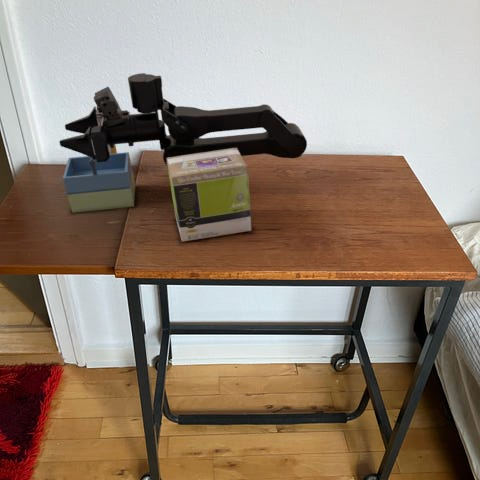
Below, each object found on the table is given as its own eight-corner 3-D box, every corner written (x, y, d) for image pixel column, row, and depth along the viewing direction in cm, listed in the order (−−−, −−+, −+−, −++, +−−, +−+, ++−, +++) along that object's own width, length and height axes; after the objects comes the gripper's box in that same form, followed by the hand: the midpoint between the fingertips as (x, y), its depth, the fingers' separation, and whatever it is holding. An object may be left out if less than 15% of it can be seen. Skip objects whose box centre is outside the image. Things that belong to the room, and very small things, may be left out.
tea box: (241, 210, 119) (238, 145, 110) (251, 232, 112) (249, 165, 102) (174, 219, 117) (165, 155, 108) (180, 243, 110) (171, 176, 100)
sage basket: (135, 185, 131) (131, 168, 128) (134, 206, 123) (130, 188, 120) (77, 191, 130) (72, 173, 127) (72, 212, 122) (67, 194, 119)
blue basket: (131, 167, 128) (126, 137, 124) (130, 188, 120) (124, 157, 115) (72, 173, 127) (64, 143, 123) (67, 195, 119) (58, 163, 114)
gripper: (130, 76, 117) (58, 82, 116) (128, 104, 103) (45, 111, 102) (139, 126, 124) (71, 133, 123) (137, 159, 110) (60, 167, 109)
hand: (62, 135), depth 114 cm, fingers open, 9 cm apart
